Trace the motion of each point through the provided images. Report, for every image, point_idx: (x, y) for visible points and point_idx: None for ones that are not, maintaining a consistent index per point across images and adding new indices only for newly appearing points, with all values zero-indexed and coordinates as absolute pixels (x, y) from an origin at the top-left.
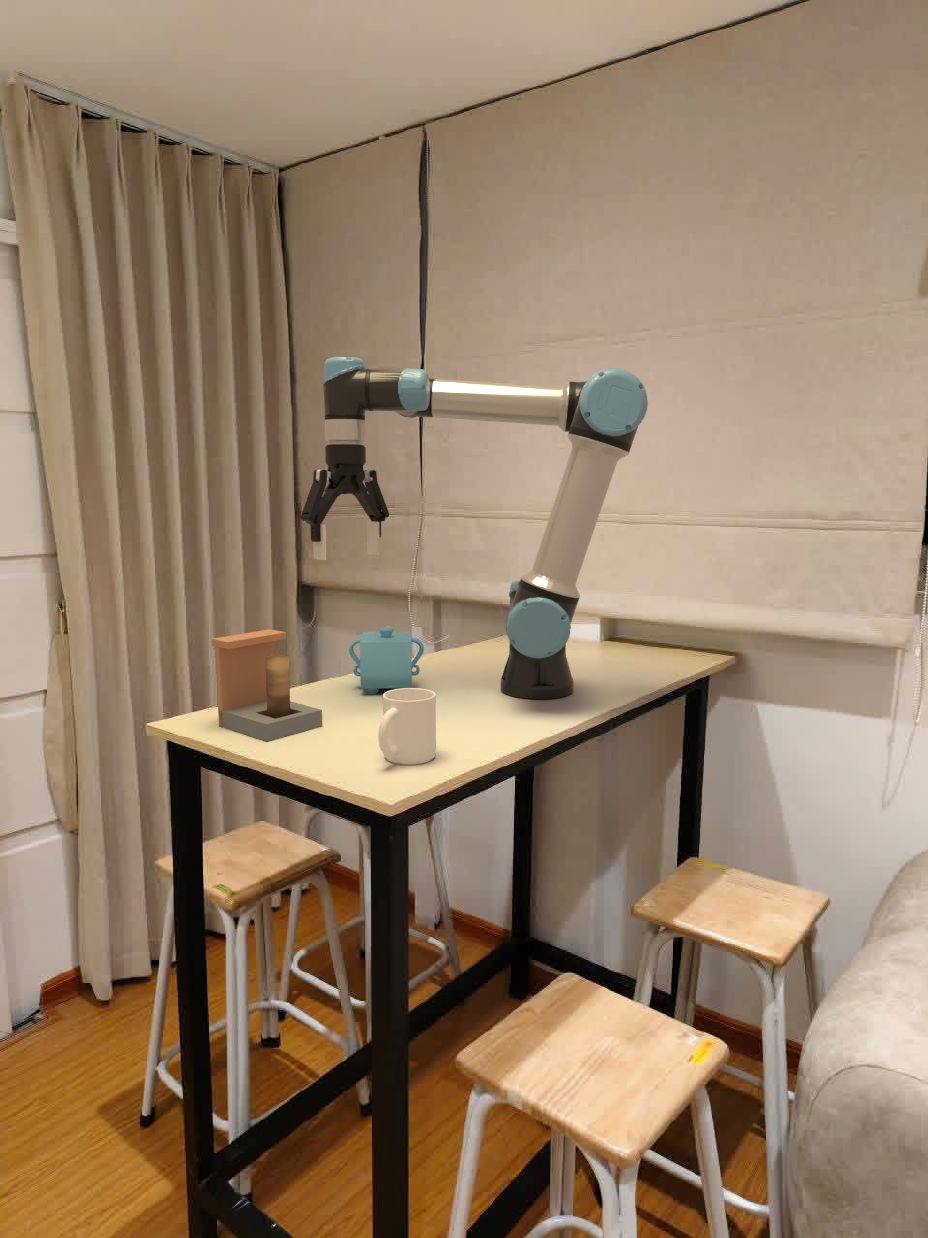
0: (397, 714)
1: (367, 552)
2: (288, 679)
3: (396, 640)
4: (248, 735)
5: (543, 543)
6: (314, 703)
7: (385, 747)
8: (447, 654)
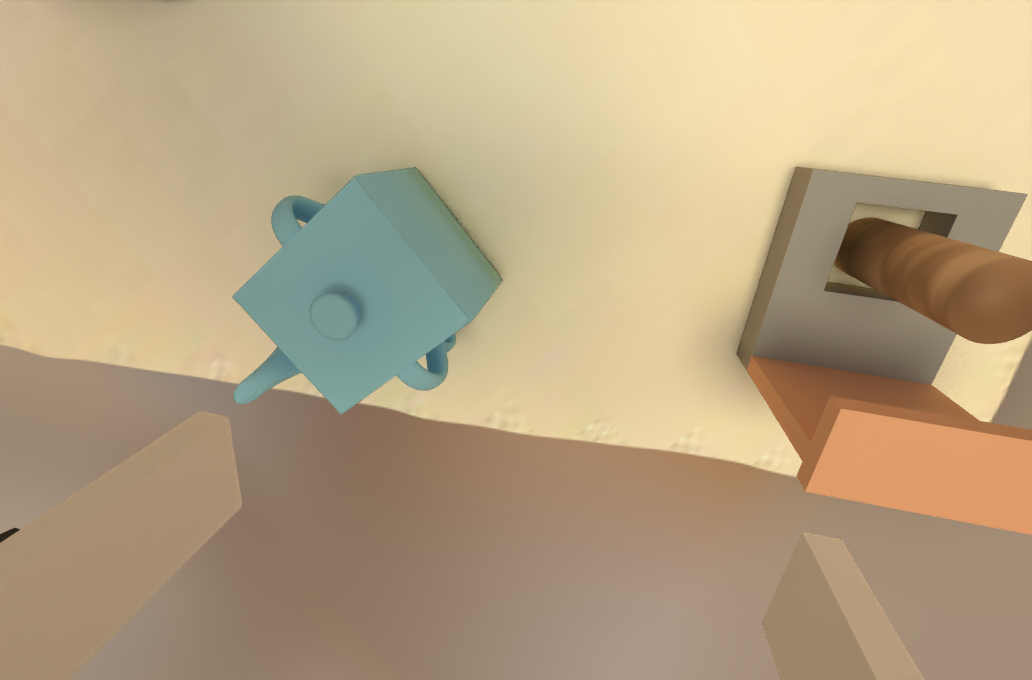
0: None
1: (232, 514)
2: (940, 244)
3: (365, 242)
4: None
5: None
6: (620, 326)
7: None
8: (87, 346)
